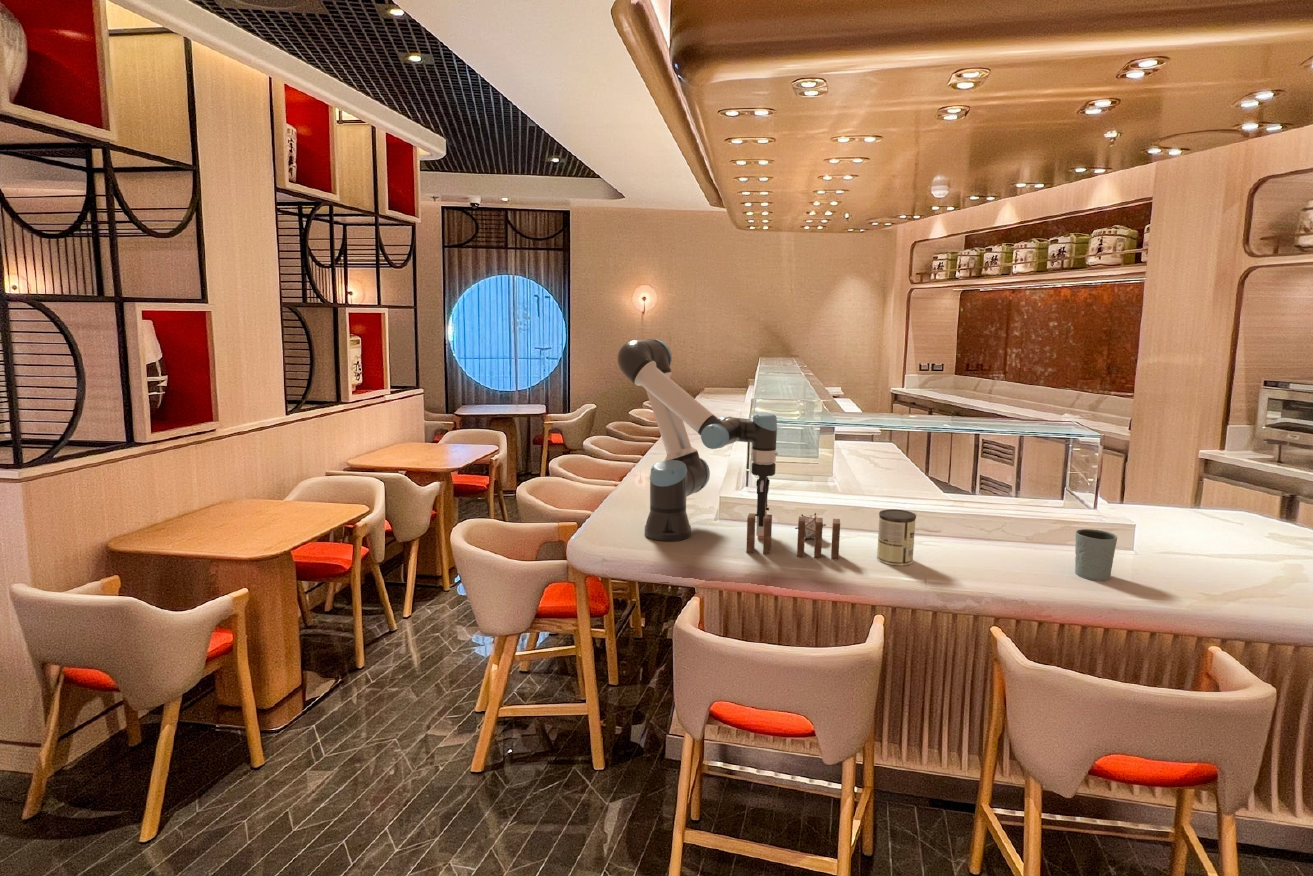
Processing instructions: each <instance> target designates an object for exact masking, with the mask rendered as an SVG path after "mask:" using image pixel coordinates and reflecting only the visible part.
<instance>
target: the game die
mask: <svg viewBox="0 0 1313 876" xmlns="http://www.w3.org/2000/svg"><path fill="white" fill-rule="evenodd" d="M800 514H801V517H806V521H805V541H807V539H812V538H813V539H815V525H816V518H818V517H817V516H816V515H817V513H816V512H815V513H814V514H813V515H804V514H802V513H800ZM826 526H827V524H826V523H823V527H826ZM823 527H822V529H823ZM794 529H795V530H798V527H795V528H794Z"/></svg>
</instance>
